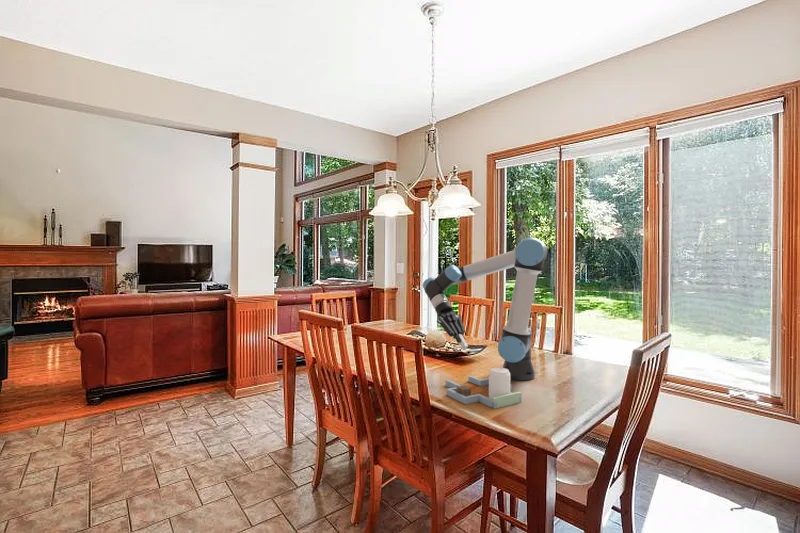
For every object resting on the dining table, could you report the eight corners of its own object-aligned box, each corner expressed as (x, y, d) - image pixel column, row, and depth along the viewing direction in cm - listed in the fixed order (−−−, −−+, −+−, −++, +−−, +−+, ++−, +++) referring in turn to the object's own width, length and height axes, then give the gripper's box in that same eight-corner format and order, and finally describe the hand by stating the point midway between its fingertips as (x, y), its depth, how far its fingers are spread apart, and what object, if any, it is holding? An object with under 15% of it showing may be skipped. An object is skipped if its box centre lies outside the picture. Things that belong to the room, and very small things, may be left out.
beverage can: (484, 398, 156) (484, 368, 155) (500, 395, 159) (500, 366, 159) (497, 405, 148) (498, 373, 148) (514, 402, 152) (514, 371, 152)
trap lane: (433, 388, 167) (433, 382, 167) (481, 378, 181) (481, 373, 180) (480, 412, 141) (480, 405, 141) (533, 399, 154) (533, 393, 154)
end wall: (492, 408, 145) (492, 397, 145) (519, 401, 152) (519, 391, 152) (494, 409, 144) (494, 398, 144) (521, 402, 151) (521, 392, 151)
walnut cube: (456, 396, 156) (456, 386, 156) (464, 395, 158) (464, 385, 158) (462, 399, 153) (462, 389, 153) (470, 398, 155) (470, 388, 155)
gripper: (449, 310, 189) (473, 351, 175) (427, 312, 182) (449, 355, 168) (456, 299, 184) (481, 341, 170) (433, 301, 178) (457, 344, 163)
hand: (465, 348), depth 169 cm, fingers closed
